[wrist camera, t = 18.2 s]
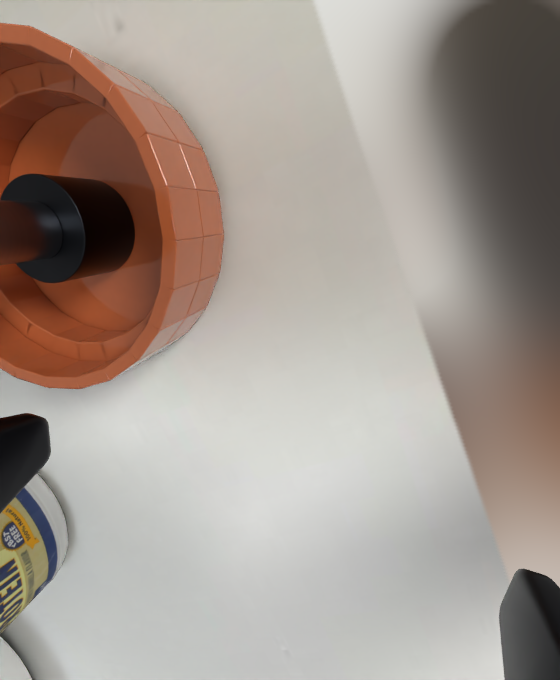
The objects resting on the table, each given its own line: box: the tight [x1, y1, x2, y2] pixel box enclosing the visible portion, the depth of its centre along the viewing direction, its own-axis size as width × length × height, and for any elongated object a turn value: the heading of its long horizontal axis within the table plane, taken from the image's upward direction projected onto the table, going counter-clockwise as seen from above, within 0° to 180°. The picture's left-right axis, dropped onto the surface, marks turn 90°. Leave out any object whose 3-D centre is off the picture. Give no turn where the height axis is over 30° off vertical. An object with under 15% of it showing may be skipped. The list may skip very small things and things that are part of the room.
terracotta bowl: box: [0, 23, 224, 389], centre depth 19 cm, size 14×14×5 cm
